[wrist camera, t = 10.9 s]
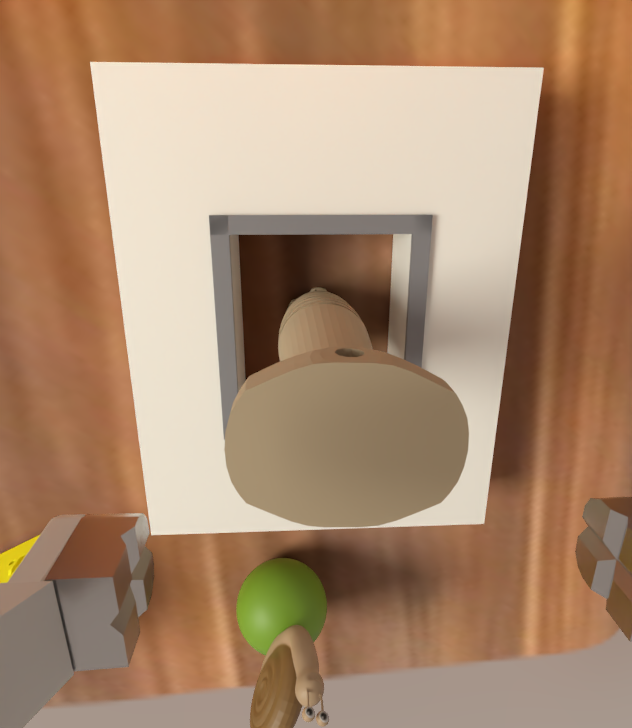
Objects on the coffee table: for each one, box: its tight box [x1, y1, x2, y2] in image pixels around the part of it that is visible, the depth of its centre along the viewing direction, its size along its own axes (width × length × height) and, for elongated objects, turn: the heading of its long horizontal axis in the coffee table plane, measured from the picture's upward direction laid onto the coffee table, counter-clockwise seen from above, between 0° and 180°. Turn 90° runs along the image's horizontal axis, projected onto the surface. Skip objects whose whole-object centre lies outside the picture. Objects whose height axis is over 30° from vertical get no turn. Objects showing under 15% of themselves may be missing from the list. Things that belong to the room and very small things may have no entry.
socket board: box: [90, 62, 544, 535], centre depth 25 cm, size 22×18×4 cm
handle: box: [224, 287, 469, 527], centre depth 20 cm, size 5×6×15 cm
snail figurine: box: [237, 558, 329, 728], centre depth 27 cm, size 5×6×12 cm
